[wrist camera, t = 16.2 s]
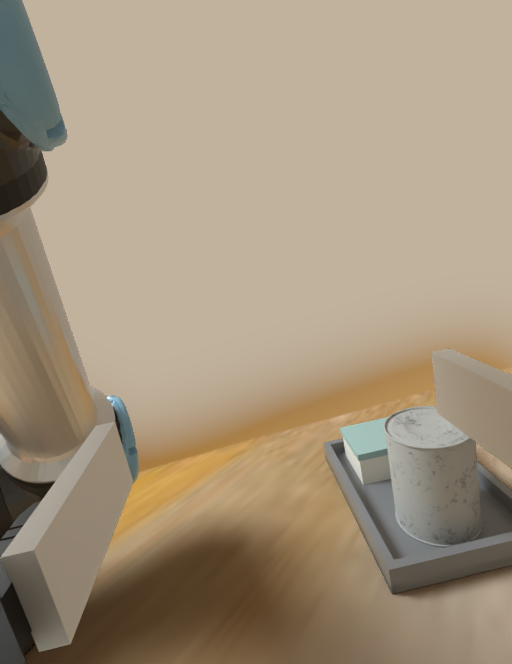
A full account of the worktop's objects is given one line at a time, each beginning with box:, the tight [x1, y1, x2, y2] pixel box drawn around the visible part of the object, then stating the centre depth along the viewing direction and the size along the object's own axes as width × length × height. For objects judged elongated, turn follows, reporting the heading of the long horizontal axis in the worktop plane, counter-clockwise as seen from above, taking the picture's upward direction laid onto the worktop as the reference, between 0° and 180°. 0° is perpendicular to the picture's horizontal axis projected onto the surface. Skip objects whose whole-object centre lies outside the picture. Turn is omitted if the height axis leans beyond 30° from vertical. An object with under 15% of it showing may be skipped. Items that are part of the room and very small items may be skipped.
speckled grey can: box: [384, 406, 483, 548], centre depth 45 cm, size 10×10×12 cm
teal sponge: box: [340, 417, 391, 485], centre depth 58 cm, size 8×12×5 cm
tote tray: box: [323, 438, 512, 594], centre depth 51 cm, size 26×18×3 cm
